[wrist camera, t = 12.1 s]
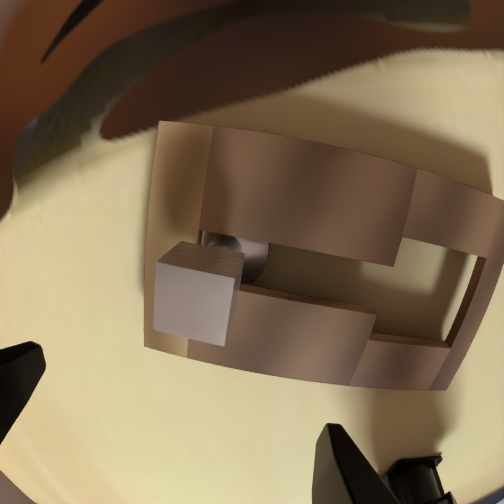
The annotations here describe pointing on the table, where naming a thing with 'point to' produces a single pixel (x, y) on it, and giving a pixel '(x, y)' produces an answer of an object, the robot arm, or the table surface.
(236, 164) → the keyhole board
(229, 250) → the headed peg
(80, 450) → the table surface
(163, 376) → the table surface
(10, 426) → the robot arm
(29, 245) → the table surface
